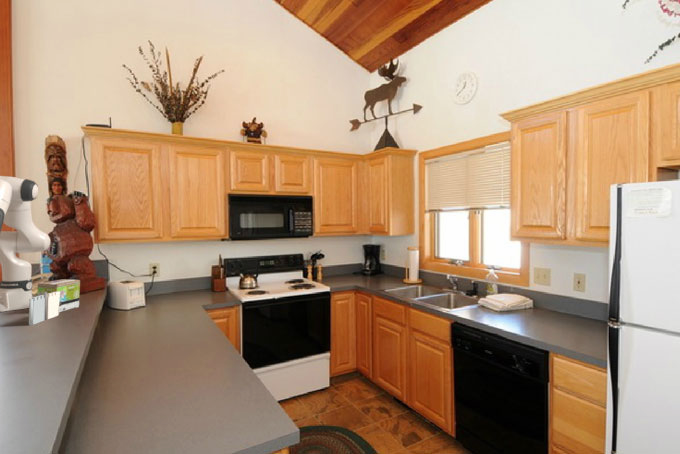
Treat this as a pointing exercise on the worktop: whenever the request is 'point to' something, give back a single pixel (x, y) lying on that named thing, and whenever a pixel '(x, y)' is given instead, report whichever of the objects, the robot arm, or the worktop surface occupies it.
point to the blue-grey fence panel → (36, 309)
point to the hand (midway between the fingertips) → (3, 309)
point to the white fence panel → (51, 304)
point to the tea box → (62, 292)
